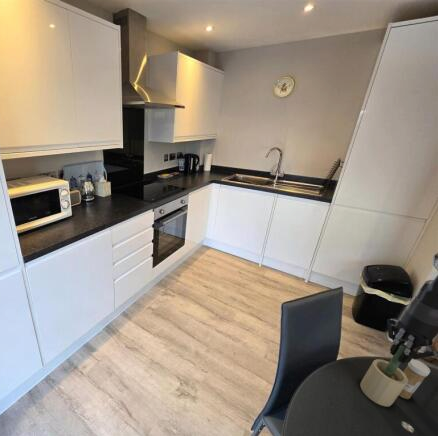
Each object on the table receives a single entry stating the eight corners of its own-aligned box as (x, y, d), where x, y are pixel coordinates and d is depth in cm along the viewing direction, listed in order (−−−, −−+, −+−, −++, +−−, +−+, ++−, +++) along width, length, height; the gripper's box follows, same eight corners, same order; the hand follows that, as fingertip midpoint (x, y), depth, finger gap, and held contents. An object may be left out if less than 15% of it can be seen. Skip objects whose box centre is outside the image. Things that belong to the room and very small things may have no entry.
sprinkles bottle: (388, 387, 84) (407, 360, 79) (398, 384, 85) (416, 357, 80) (404, 401, 80) (424, 373, 75) (413, 398, 81) (434, 370, 76)
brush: (386, 382, 81) (411, 344, 75) (390, 393, 78) (416, 354, 71) (371, 376, 83) (394, 338, 76) (375, 386, 80) (399, 348, 73)
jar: (386, 388, 84) (401, 366, 79) (396, 411, 77) (412, 389, 73) (357, 376, 87) (370, 355, 83) (363, 398, 80) (377, 375, 76)
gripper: (467, 335, 63) (433, 380, 70) (412, 298, 76) (388, 339, 82) (440, 335, 63) (409, 380, 69) (389, 298, 75) (367, 339, 82)
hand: (397, 357), depth 76 cm, fingers closed on brush, 2 cm apart
